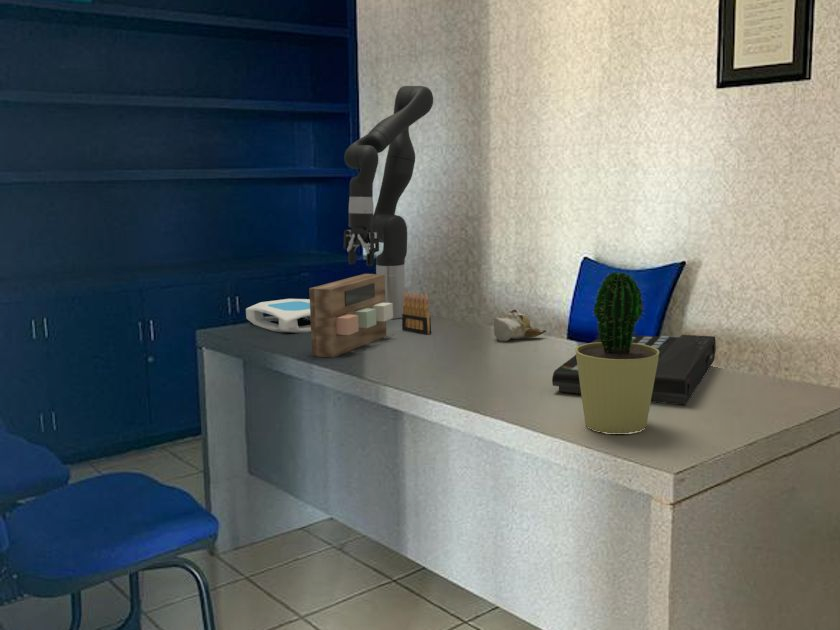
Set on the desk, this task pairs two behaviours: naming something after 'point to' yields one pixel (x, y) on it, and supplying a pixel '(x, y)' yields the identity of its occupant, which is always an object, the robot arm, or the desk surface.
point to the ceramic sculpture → (514, 327)
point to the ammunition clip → (416, 314)
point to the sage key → (366, 317)
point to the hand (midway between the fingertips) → (360, 264)
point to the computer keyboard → (659, 366)
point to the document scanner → (281, 315)
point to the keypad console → (341, 301)
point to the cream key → (383, 311)
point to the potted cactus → (617, 361)
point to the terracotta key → (347, 324)
